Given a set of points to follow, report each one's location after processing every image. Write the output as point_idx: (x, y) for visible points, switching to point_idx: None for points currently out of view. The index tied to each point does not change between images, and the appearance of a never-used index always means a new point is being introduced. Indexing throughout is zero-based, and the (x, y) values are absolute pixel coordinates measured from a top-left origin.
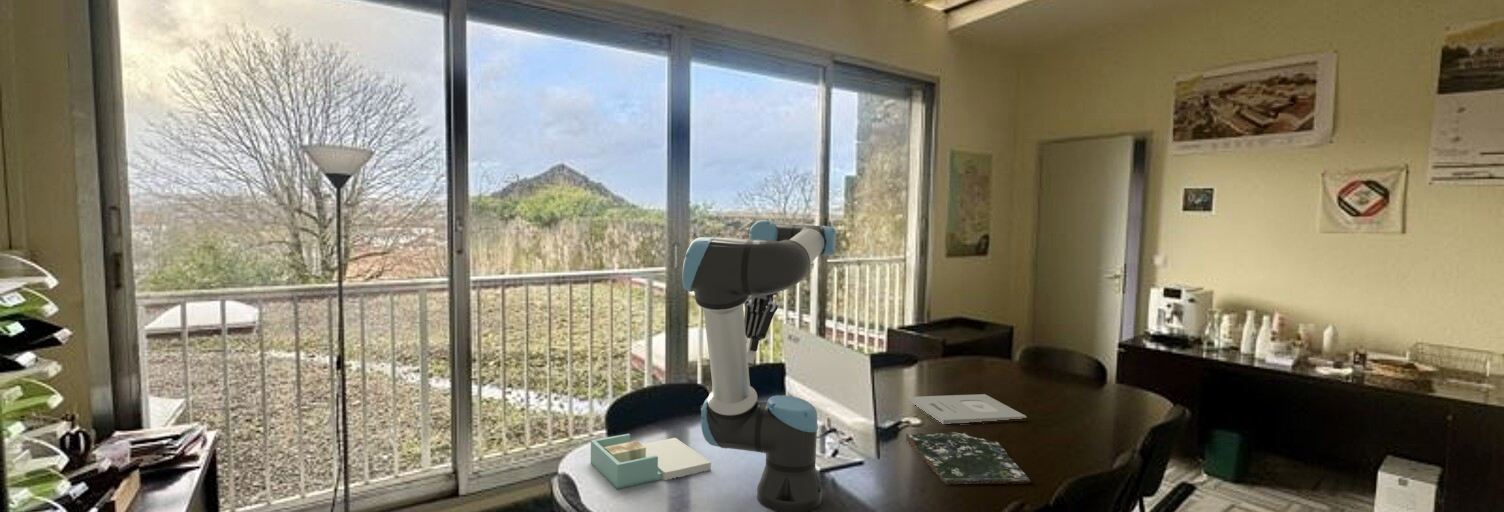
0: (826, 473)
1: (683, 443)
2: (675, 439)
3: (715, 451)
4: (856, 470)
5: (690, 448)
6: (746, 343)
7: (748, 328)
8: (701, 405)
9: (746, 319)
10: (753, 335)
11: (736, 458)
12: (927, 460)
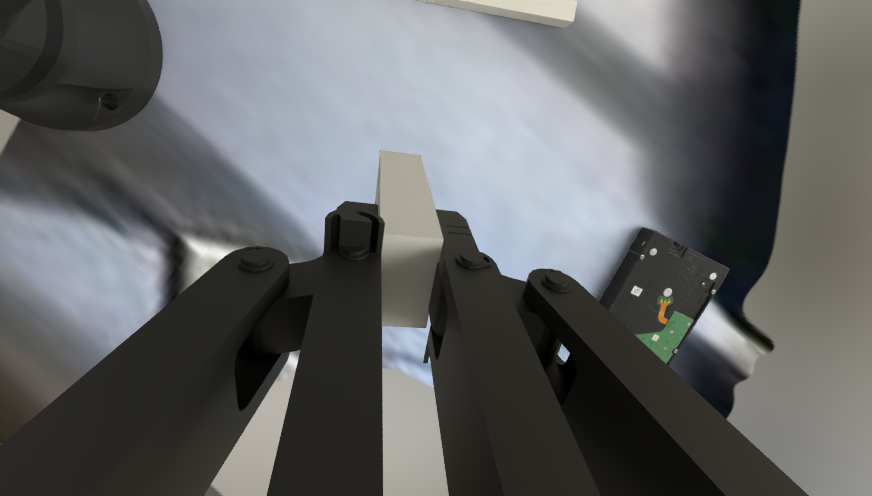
0: (157, 240)
1: (518, 10)
2: (560, 11)
3: (450, 94)
4: (133, 316)
5: (473, 1)
6: (435, 212)
7: (504, 317)
8: (725, 268)
9: (669, 426)
10: (340, 257)
11: (374, 110)
12: None
